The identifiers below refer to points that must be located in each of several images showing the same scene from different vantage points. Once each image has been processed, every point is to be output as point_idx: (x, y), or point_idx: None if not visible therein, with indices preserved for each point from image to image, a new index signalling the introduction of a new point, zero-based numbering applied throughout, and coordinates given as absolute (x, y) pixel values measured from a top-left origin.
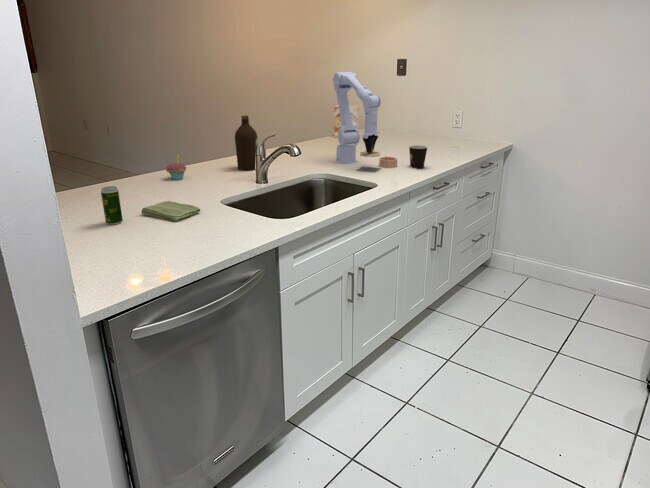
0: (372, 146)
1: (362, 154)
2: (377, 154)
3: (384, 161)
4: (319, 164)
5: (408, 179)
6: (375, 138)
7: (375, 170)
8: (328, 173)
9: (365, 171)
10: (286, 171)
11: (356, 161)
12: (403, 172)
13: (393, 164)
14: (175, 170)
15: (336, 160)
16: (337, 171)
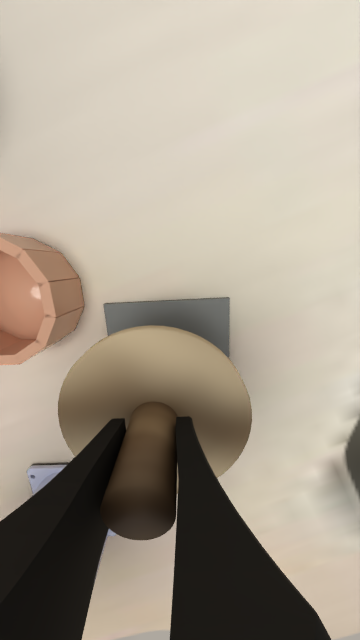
0: (142, 463)
1: (239, 455)
2: (182, 339)
3: (60, 306)
4: (173, 566)
5: (303, 7)
6: (9, 619)
7: (178, 316)
8: (317, 485)
9: (228, 355)
10: (339, 606)
11: (46, 471)
12: (116, 137)
13: (34, 245)
14: None
15: (105, 543)
16: (264, 469)
